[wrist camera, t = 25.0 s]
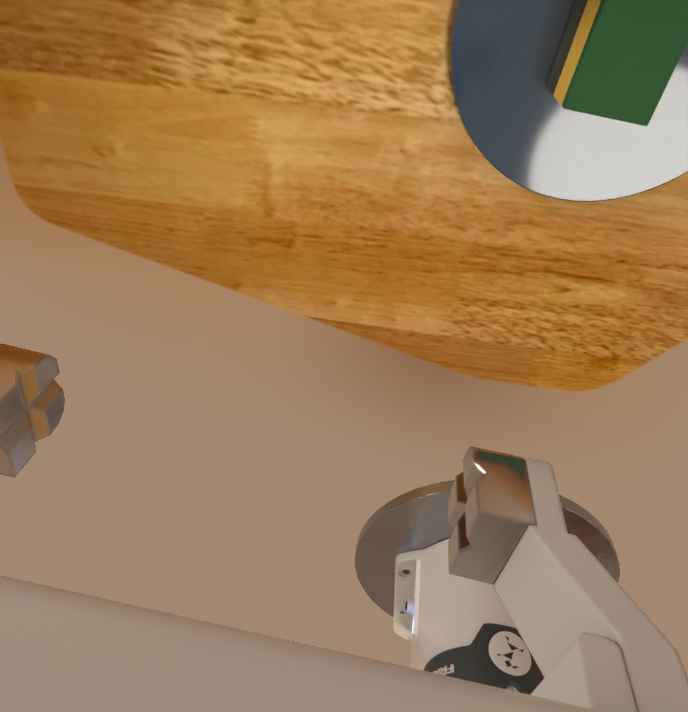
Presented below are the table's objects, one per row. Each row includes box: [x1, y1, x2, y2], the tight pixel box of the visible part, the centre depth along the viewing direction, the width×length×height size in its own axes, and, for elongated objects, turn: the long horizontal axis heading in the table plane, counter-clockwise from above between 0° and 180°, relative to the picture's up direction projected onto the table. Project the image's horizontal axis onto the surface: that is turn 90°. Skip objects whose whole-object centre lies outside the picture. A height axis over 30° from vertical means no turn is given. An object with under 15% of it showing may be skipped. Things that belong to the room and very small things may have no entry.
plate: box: [451, 0, 688, 202], centre depth 30 cm, size 18×18×1 cm
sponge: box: [553, 0, 688, 126], centre depth 28 cm, size 7×4×4 cm, turn 170°
